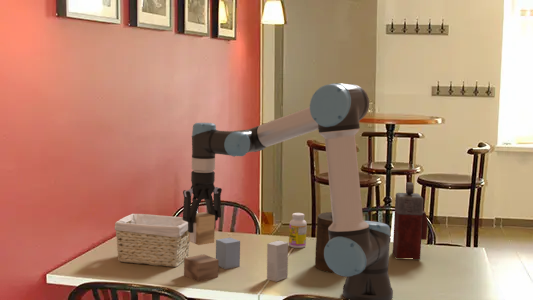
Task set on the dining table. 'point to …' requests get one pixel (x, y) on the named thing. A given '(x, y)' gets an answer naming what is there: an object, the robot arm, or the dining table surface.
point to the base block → (201, 267)
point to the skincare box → (277, 260)
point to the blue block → (228, 253)
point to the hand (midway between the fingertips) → (201, 240)
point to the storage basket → (152, 239)
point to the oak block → (204, 228)
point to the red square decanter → (409, 224)
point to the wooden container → (322, 240)
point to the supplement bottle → (297, 231)
